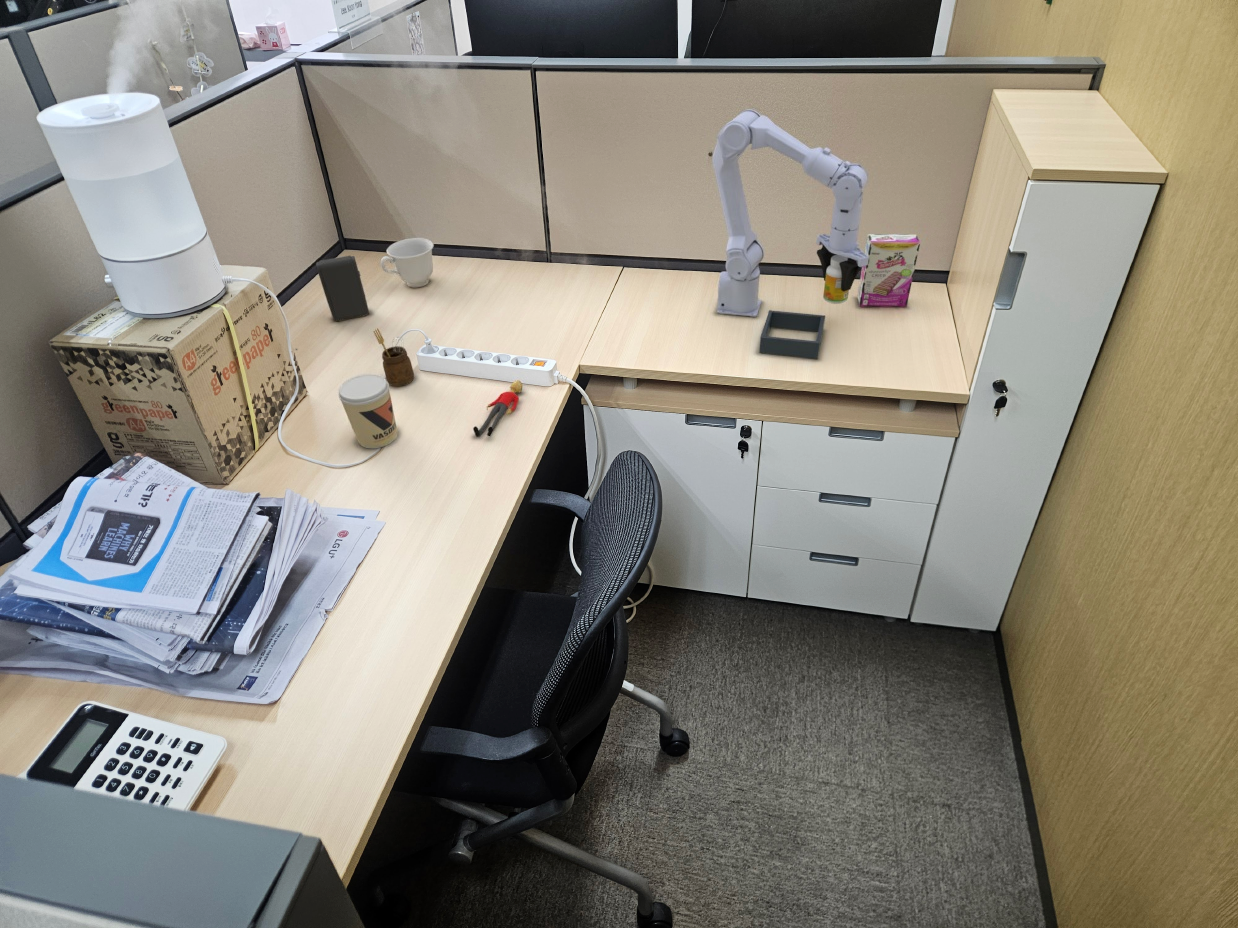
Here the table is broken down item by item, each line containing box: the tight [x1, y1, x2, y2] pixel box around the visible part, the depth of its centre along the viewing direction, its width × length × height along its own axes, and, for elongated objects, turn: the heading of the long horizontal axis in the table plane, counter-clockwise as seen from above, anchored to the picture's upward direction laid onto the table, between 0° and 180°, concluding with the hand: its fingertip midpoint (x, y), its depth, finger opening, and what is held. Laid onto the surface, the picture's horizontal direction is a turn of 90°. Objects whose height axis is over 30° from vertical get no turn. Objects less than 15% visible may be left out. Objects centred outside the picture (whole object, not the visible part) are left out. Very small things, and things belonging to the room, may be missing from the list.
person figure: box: [472, 379, 523, 438], centre depth 160 cm, size 5×4×18 cm
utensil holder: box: [373, 327, 415, 387], centre depth 169 cm, size 6×6×12 cm
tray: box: [758, 309, 826, 360], centre depth 176 cm, size 13×13×4 cm
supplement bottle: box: [822, 255, 850, 305], centre depth 176 cm, size 5×5×10 cm
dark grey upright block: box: [315, 255, 370, 322], centre depth 193 cm, size 9×4×15 cm, turn 108°
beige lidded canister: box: [338, 373, 398, 449], centre depth 153 cm, size 9×9×12 cm
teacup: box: [380, 237, 435, 288], centre depth 207 cm, size 12×15×10 cm
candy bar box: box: [856, 233, 921, 308], centre depth 184 cm, size 11×5×16 cm, turn 84°
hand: (837, 285), depth 176 cm, fingers closed on supplement bottle, 5 cm apart
